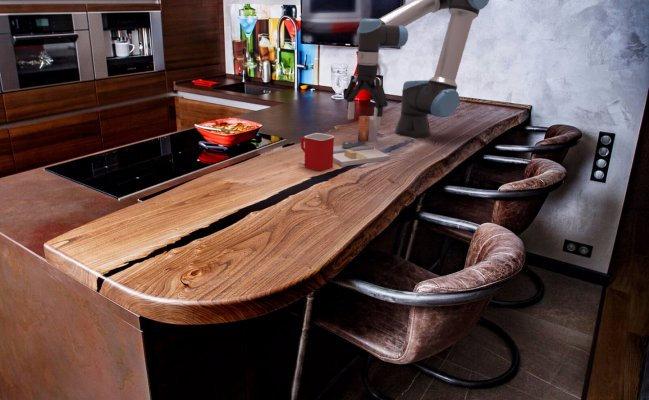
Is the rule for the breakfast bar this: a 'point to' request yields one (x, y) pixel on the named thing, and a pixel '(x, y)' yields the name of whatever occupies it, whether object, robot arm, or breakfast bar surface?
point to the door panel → (359, 157)
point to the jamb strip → (352, 148)
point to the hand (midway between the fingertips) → (363, 122)
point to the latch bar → (360, 133)
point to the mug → (318, 151)
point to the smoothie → (373, 129)
